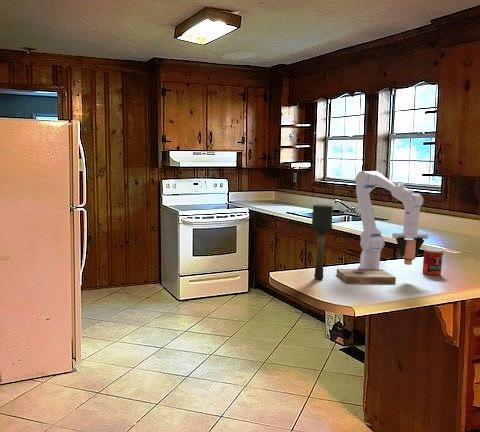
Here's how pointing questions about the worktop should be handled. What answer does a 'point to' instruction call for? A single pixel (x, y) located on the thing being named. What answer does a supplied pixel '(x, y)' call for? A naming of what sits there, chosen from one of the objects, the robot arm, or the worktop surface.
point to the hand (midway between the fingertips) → (408, 255)
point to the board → (365, 276)
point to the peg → (409, 251)
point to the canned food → (432, 261)
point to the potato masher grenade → (321, 233)
